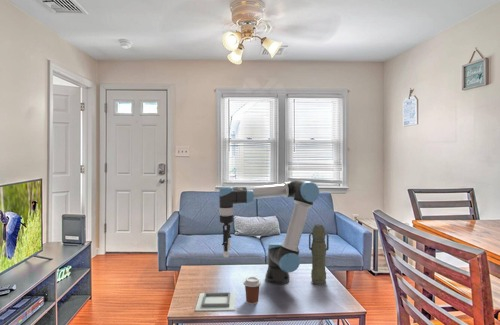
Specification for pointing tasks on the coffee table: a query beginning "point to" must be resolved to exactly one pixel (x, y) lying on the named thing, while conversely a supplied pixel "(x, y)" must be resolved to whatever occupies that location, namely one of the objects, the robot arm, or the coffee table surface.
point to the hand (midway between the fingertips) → (227, 253)
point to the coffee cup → (252, 289)
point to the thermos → (318, 254)
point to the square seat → (216, 302)
